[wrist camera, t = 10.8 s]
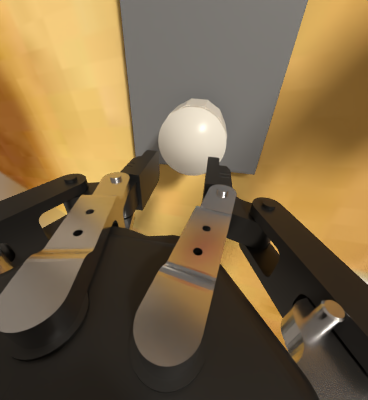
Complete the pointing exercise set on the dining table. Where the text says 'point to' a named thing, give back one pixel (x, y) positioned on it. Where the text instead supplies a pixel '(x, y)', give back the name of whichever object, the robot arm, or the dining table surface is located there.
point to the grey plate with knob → (209, 66)
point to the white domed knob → (192, 136)
